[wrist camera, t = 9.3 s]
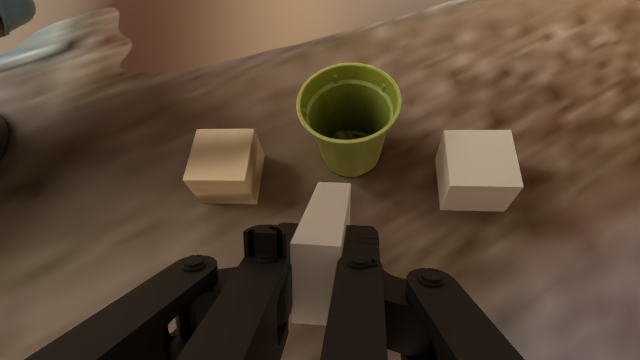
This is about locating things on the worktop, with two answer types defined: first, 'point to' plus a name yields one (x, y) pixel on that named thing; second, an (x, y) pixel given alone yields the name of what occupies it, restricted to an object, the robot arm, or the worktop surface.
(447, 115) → the worktop surface
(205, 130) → the birch block
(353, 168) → the plant pot
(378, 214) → the worktop surface
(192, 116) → the worktop surface
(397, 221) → the worktop surface
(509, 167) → the grey block
